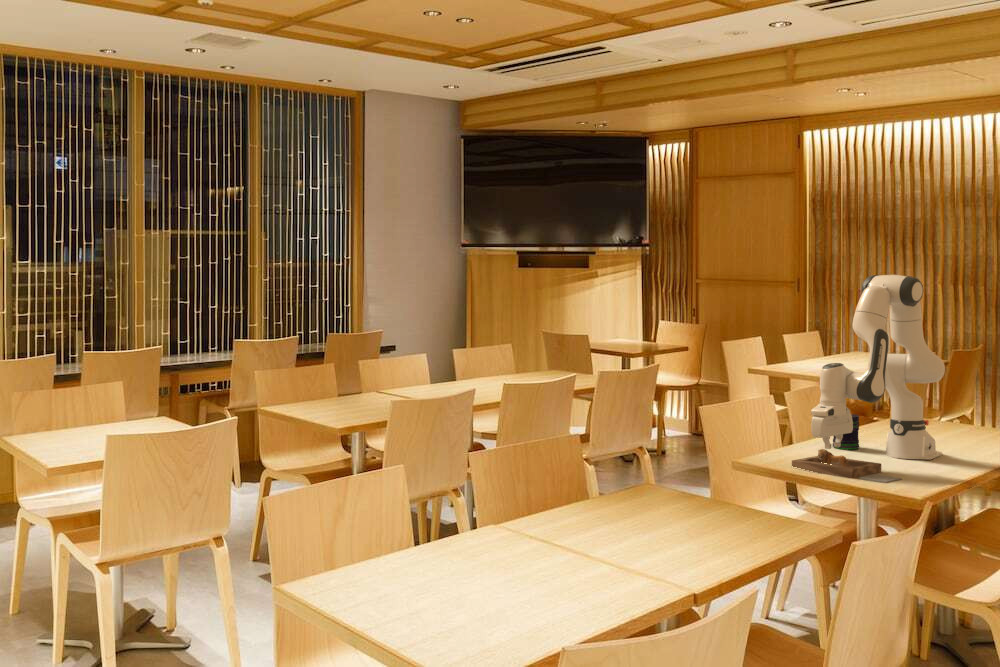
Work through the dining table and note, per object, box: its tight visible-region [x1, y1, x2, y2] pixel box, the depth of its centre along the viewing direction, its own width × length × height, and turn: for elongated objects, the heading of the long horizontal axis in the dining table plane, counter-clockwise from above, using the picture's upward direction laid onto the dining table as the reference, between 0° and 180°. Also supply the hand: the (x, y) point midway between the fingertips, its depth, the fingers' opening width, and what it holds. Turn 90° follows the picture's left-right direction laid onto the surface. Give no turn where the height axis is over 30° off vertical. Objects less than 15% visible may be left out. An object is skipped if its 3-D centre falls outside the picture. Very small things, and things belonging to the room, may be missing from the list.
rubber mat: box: [857, 473, 903, 484], centre depth 322 cm, size 10×10×1 cm
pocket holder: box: [791, 455, 882, 479], centre depth 339 cm, size 18×24×3 cm
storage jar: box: [832, 413, 860, 451], centre depth 376 cm, size 10×10×15 cm
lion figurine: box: [817, 448, 849, 467], centre depth 338 cm, size 12×4×7 cm, turn 60°
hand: (832, 447), depth 340 cm, fingers open, 4 cm apart
